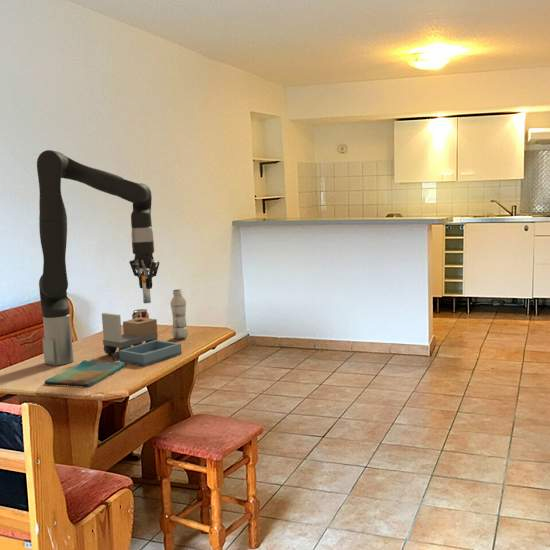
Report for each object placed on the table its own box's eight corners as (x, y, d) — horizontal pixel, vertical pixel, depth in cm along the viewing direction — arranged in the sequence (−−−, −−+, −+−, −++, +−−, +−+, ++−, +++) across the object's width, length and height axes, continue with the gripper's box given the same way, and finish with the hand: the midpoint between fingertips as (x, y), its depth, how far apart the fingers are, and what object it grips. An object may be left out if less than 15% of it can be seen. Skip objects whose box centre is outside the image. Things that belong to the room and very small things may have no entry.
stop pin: (146, 303, 227) (144, 275, 226) (141, 303, 229) (139, 275, 227) (152, 302, 229) (150, 274, 228) (147, 301, 231) (145, 274, 229)
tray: (144, 366, 221) (143, 355, 220) (119, 361, 228) (118, 350, 228) (181, 354, 235) (180, 343, 234) (157, 350, 243) (156, 339, 242)
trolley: (117, 360, 230) (113, 316, 228) (98, 356, 236) (95, 314, 234) (160, 347, 247) (157, 306, 244) (141, 344, 253) (138, 304, 251)
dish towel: (127, 368, 222) (126, 361, 221) (90, 389, 199) (89, 381, 199) (83, 366, 226) (83, 359, 226) (42, 386, 204) (42, 378, 204)
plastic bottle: (169, 340, 258) (166, 291, 255) (176, 336, 264) (173, 288, 262) (184, 340, 256) (181, 291, 253) (191, 336, 262) (188, 288, 260)
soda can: (132, 338, 264) (130, 310, 262) (148, 336, 267) (146, 308, 265) (135, 341, 258) (133, 312, 256) (152, 339, 261) (150, 310, 259)
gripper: (121, 240, 227) (124, 288, 229) (148, 241, 219) (151, 291, 221) (137, 239, 233) (140, 285, 235) (164, 239, 225) (167, 288, 227)
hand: (146, 288), depth 228 cm, fingers closed on stop pin, 2 cm apart
